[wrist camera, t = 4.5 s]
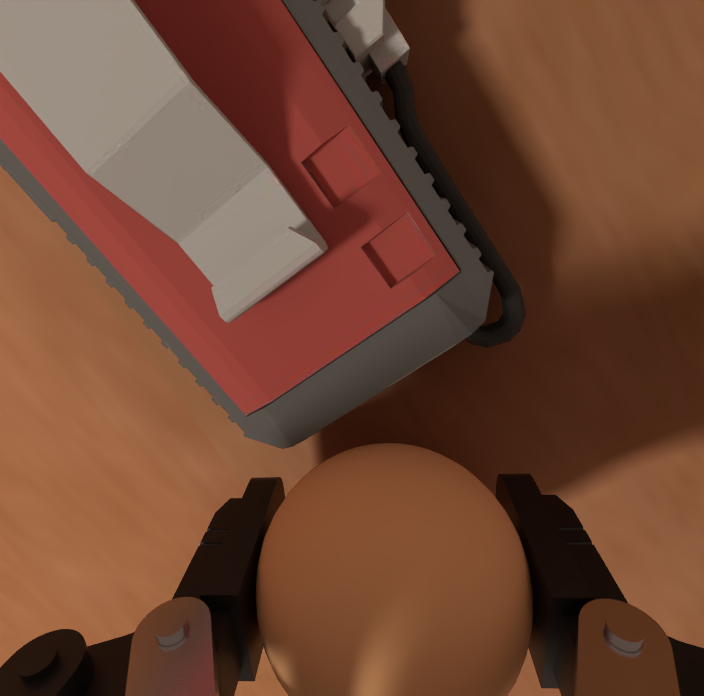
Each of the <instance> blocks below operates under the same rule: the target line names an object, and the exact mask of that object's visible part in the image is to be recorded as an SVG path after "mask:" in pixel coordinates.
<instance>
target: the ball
mask: <svg viewBox="0 0 704 696" xmlns="http://www.w3.org/2000/svg"><path fill="white" fill-rule="evenodd" d="M255 596H256V608H257V618H258V626H259V630H260V634H261V638H262V642H263V645H264V649H265V652H266V655H267V657H268V659H269V662H270V664H271V666H272V669H273V671H274V673H275V675H276V677H277V679H278V681H279V682H280V684H281V685H282V687H283V688H284V690H285V691H286V693H287V694H288V696H508V694H509V693H510V691H511V689H512V688H513V686H514V684H515V683H516V680H517V678H518V675H519V673H520V670H521V668H522V665H523V663H524V660H525V658H526V655H527V650H528V645H529V640H530V635H531V630H532V621H533V591H532V584H531V577H530V571H529V565H528V562H527V559H526V555H525V552H524V549H523V546H522V543H521V541H520V538H519V536H518V533H517V531H516V529H515V527H514V525H513V523H512V522H511V520H510V518H509V516H508V514H507V513H506V511H505V510H504V508H503V507H502V506H501V504H500V503H499V502H498V500H497V499H496V498H495V496H494V495H493V494H492V493H491V491H490V490H489V489H488V488H487V487H486V486H485V485H484V484H483V483H482V482H481V481H480V480H479V479H477V478H476V477H475V476H474V475H473V474H472V473H471V472H469V471H468V470H467V469H465V468H464V467H462V466H461V465H460V464H458V463H456V462H454V461H452V460H451V459H449V458H447V457H445V456H443V455H441V454H439V453H436V452H434V451H431V450H429V449H425V448H422V447H418V446H414V445H407V444H401V443H378V444H369V445H364V446H359V447H355V448H352V449H349V450H346V451H344V452H341V453H339V454H337V455H335V456H333V457H331V458H329V459H327V460H326V461H324V462H323V463H321V464H319V465H318V466H316V467H315V468H314V469H312V470H311V471H310V472H309V473H308V474H306V475H305V476H304V477H303V478H302V479H301V480H300V481H299V482H298V483H297V484H296V485H295V486H294V488H293V489H292V490H291V491H290V492H289V493H288V495H287V496H286V498H285V499H284V501H283V502H282V504H281V505H280V507H279V508H278V510H277V512H276V513H275V515H274V517H273V519H272V522H271V524H270V526H269V528H268V531H267V533H266V536H265V538H264V541H263V545H262V549H261V553H260V558H259V562H258V566H257V580H256V593H255Z"/></svg>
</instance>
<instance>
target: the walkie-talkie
mask: <svg viewBox="0 0 704 696" xmlns="http://www.w3.org/2000/svg"><path fill="white" fill-rule="evenodd" d="M409 51H410V47H409V46H408V44H407V42H406V41H405V39H404V37H403V36H402V34H401V32H400V31H399V29H398V27H397V26H396V24H395V22H394V21H393V19H392V17H391V16H390V14H389V12H388V11H387V9H386V8H385V0H0V165H1V166H2V167H3V168H4V169H5V170H6V171H7V172H8V174H9V175H10V176H11V177H12V178H13V179H14V180H15V181H16V183H17V184H18V185H19V186H20V187H21V188H22V189H23V190H24V191H25V193H26V194H27V195H28V196H29V197H30V198H31V199H32V200H33V201H34V203H35V204H36V205H37V206H38V207H39V208H40V209H41V210H42V211H43V213H44V214H45V215H46V216H47V217H48V218H49V219H50V220H51V221H52V222H53V221H56V222H57V223H58V225H59V226H60V227H61V228H62V229H63V230H64V231H65V232H66V233H67V239H68V240H69V241H70V242H71V243H72V244H76V245H77V246H78V247H79V248H80V249H81V250H82V251H83V252H84V253H85V254H86V256H87V261H88V262H89V263H90V265H91V266H96V267H97V268H98V269H99V270H100V271H101V273H102V274H103V275H104V276H105V277H106V282H107V284H108V285H109V286H110V287H111V288H112V287H115V288H116V289H117V290H118V291H119V293H120V294H121V295H122V296H123V297H124V298H125V304H126V305H127V306H128V307H129V308H134V309H135V310H136V312H137V313H138V314H139V315H140V316H141V317H142V318H143V319H144V322H143V324H144V325H145V326H146V327H147V328H148V329H150V328H152V329H153V331H154V332H155V333H156V334H157V335H158V336H159V337H160V338H161V339H162V341H161V344H162V345H163V346H164V347H165V348H170V349H171V351H172V352H173V353H174V354H175V355H176V356H177V357H178V358H179V362H178V363H179V364H180V365H181V366H182V367H183V368H188V370H189V371H190V372H191V373H192V374H193V375H194V376H195V377H196V383H197V384H198V385H199V386H204V387H205V389H206V390H207V391H208V392H209V393H210V394H211V395H212V396H213V398H212V400H213V401H214V403H215V404H216V405H221V406H222V408H223V409H224V410H225V411H226V412H227V413H228V414H229V416H228V418H229V419H230V420H231V421H232V422H236V423H237V424H238V425H239V427H240V428H241V429H242V430H243V431H244V432H245V433H244V436H245V437H248V438H251V439H254V440H257V441H260V442H263V443H266V444H269V445H273V446H276V447H279V448H282V449H283V448H288V447H292V446H294V445H296V444H298V443H300V442H302V441H303V440H305V439H307V438H308V437H310V436H311V435H313V434H315V433H316V432H318V431H319V430H321V429H323V428H324V427H326V426H327V425H329V424H331V423H332V422H334V421H335V420H337V419H339V418H340V417H342V416H343V415H345V414H346V413H348V412H350V411H351V410H353V409H354V408H356V407H358V406H359V405H361V404H362V403H364V402H366V401H367V400H369V399H370V398H372V397H374V396H375V395H377V394H378V393H380V392H382V391H383V390H385V389H386V388H388V387H390V386H391V385H393V384H394V383H396V382H398V381H399V380H401V379H402V378H404V377H406V376H407V375H409V374H410V373H412V372H413V371H415V370H417V369H418V368H420V367H421V366H423V365H425V364H426V363H428V362H429V361H431V360H433V359H434V358H436V357H437V356H439V355H441V354H442V353H444V352H445V351H447V350H449V349H450V348H452V347H453V346H455V345H457V344H458V343H460V342H461V341H462V340H464V339H465V340H467V341H468V342H470V343H471V344H474V345H478V346H482V347H486V348H488V347H491V346H494V345H498V344H501V343H504V342H507V341H510V340H511V339H512V338H513V337H514V336H515V335H516V334H517V333H518V332H519V331H520V329H521V326H522V323H523V321H524V318H525V306H524V302H523V298H522V294H521V290H520V287H519V285H518V284H517V282H516V281H515V279H514V277H513V276H512V274H511V273H510V271H509V270H508V268H507V266H506V265H505V263H504V262H503V260H502V258H501V257H500V255H499V254H498V252H497V251H496V249H495V247H494V246H493V244H492V243H491V241H490V239H489V238H488V236H487V235H486V233H485V231H484V230H483V228H482V227H481V225H480V224H479V222H478V220H477V219H476V217H475V216H474V214H473V212H472V211H471V209H470V208H469V206H468V204H467V203H466V201H465V200H464V198H463V197H462V195H461V193H460V192H459V190H458V189H457V187H456V185H455V184H454V182H453V181H452V179H451V177H450V176H449V174H448V173H447V171H446V170H445V168H444V166H443V164H442V163H441V161H440V159H439V158H438V156H437V154H436V152H435V151H434V149H433V147H432V146H431V144H430V142H429V140H428V139H427V137H426V135H425V134H424V132H423V130H422V128H421V127H420V125H419V123H418V120H417V116H416V112H415V105H414V92H413V85H412V83H411V80H410V78H409V75H408V73H407V70H406V68H405V65H406V64H407V62H408V56H409ZM372 72H373V73H374V74H375V76H376V77H377V79H378V81H379V82H380V84H381V85H382V84H384V83H385V82H386V81H387V83H388V84H389V86H390V88H391V90H392V92H393V97H394V107H395V116H396V119H394V120H389V118H388V117H387V115H386V114H385V112H384V110H383V100H382V97H381V95H380V94H379V92H378V91H374V92H371V90H370V89H369V87H368V86H367V83H366V77H367V76H368V75H369V74H370V73H372ZM399 130H400V132H401V134H402V136H403V139H404V141H405V143H406V145H407V146H406V145H405V143H404V142H403V140H402V138H401V137H400V135H399ZM492 281H493V282H494V284H495V285H496V287H497V289H498V291H499V293H500V296H501V298H502V306H503V313H502V315H501V317H500V318H499V320H498V321H497V322H494V323H491V324H488V325H486V326H481V325H482V324H483V323H484V322H485V320H486V315H487V309H488V303H489V297H490V292H491V286H492Z"/></svg>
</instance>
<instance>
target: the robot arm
mask: <svg viewBox="0 0 704 696" xmlns="http://www.w3.org/2000/svg"><path fill="white" fill-rule="evenodd" d="M284 499H285V495H284V487H283V482H282V479H281V478H280V477H273V478H251V480H250V481H249V484H248V486H247V488H246V490H245V493H244V495H243V497H242V498H230V499H229V500H228V501H227V502H226V503H225V504H224V505H223V506H222V507H221V508H220V509H219V510H218V511H217V512H216V513H215V515H214V517H213V519H212V521H211V523H210V525H209V527H208V529H207V532H205V534H204V536H203V538H202V540H201V542H200V543H201V544H200V546H198V548H197V550H196V552H195V554H194V556H193V558H192V560H191V562H190V564H189V566H188V568H187V570H186V572H185V574H184V576H183V578H182V580H181V582H180V584H179V586H178V588H177V590H176V592H175V594H174V596H173V598H172V600H169V601H167V602H165V603H163V604H161V605H159V606H158V607H156V608H155V609H153V610H152V611H151V612H150V613H148V614H147V616H146V617H145V618H144V619H143V620H142V621H141V622H140V624H139V625H138V627H137V629H136V630H135V632H134V633H131V634H128V635H125V636H122V637H119V638H115V639H112V640H109V641H105V642H102V643H98V644H95V645H91V646H88V647H87V645H86V643H85V640H84V638H83V636H82V635H81V634H80V633H79V632H77V631H75V630H71V629H60V630H55V631H52V632H49V633H46V634H44V635H41V636H39V637H37V638H35V639H34V640H32V641H30V642H29V643H27V644H26V645H24V646H23V647H22V648H20V649H19V650H18V651H17V652H16V653H14V654H13V655H12V656H11V657H10V658H9V659H8V660H7V661H6V662H5V663H4V664H3V665H2V666H1V667H0V696H234V694H235V690H236V687H237V683H238V681H255V677H256V673H257V669H258V665H259V661H260V657H261V653H262V649H263V642H262V638H261V634H260V630H259V626H258V618H257V608H256V596H255V593H256V580H257V566H258V562H259V558H260V553H261V549H262V545H263V541H264V538H265V536H266V533H267V531H268V528H269V526H270V524H271V522H272V519H273V517H274V515H275V513H276V512H277V510H278V508H279V507H280V505H281V504H282V502H283V501H284ZM496 499H497V500H498V502H499V503H500V504H501V506H502V507H503V508H504V510H505V511H506V513H507V514H508V516H509V518H510V520H511V522H512V523H513V525H514V527H515V529H516V531H517V533H518V536H519V538H520V541H521V543H522V546H523V549H524V552H525V555H526V559H527V562H528V565H529V571H530V577H531V584H532V591H533V621H532V630H531V635H530V640H529V645H528V647H529V651H530V654H531V657H532V660H533V663H534V666H535V669H536V673H537V676H538V679H539V682H540V685H541V688H559V690H560V693H561V695H562V696H704V648H701V647H697V646H694V645H690V644H687V643H684V642H681V641H678V640H675V639H673V638H671V637H668V636H667V635H666V633H665V632H664V630H663V629H662V628H661V627H660V626H659V624H658V623H657V622H656V621H655V620H653V619H652V618H651V617H650V616H649V615H647V614H646V613H645V612H643V611H642V610H640V609H638V608H637V607H634V606H632V605H630V604H628V602H627V600H626V599H625V597H624V595H623V594H622V592H621V590H620V589H619V587H618V585H617V584H616V582H615V580H614V578H613V577H612V575H611V573H610V572H609V570H608V568H607V567H606V565H605V563H604V561H603V560H602V558H601V556H600V555H599V553H598V551H597V550H596V548H595V546H594V545H592V541H591V539H590V538H589V536H588V534H587V533H586V531H585V530H583V526H582V524H581V522H580V521H579V519H578V517H577V516H576V514H575V512H574V511H573V509H572V508H571V507H569V506H568V505H567V504H566V503H565V502H563V501H562V500H561V499H560V498H559V497H557V496H556V495H541V493H540V491H539V489H538V487H537V485H536V483H535V481H534V479H533V477H532V476H531V475H530V474H499V475H498V477H497V485H496Z"/></svg>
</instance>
